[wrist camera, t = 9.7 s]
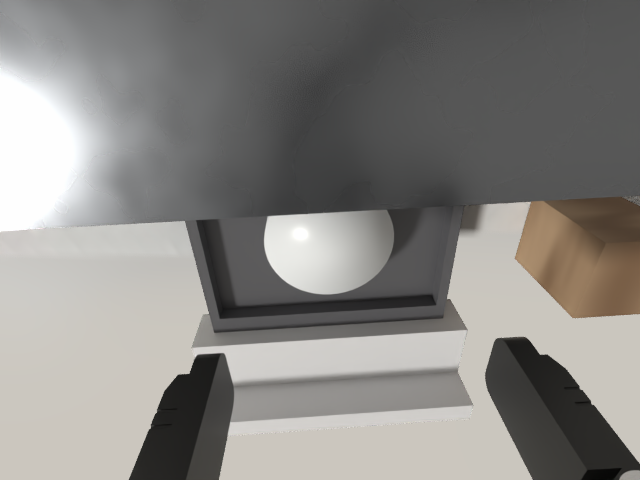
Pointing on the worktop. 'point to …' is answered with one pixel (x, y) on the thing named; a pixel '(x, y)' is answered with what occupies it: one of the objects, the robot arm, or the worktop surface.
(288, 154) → the housing
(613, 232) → the wooden block
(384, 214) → the white rounded flat dome
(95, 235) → the worktop surface
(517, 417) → the robot arm
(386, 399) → the tray
